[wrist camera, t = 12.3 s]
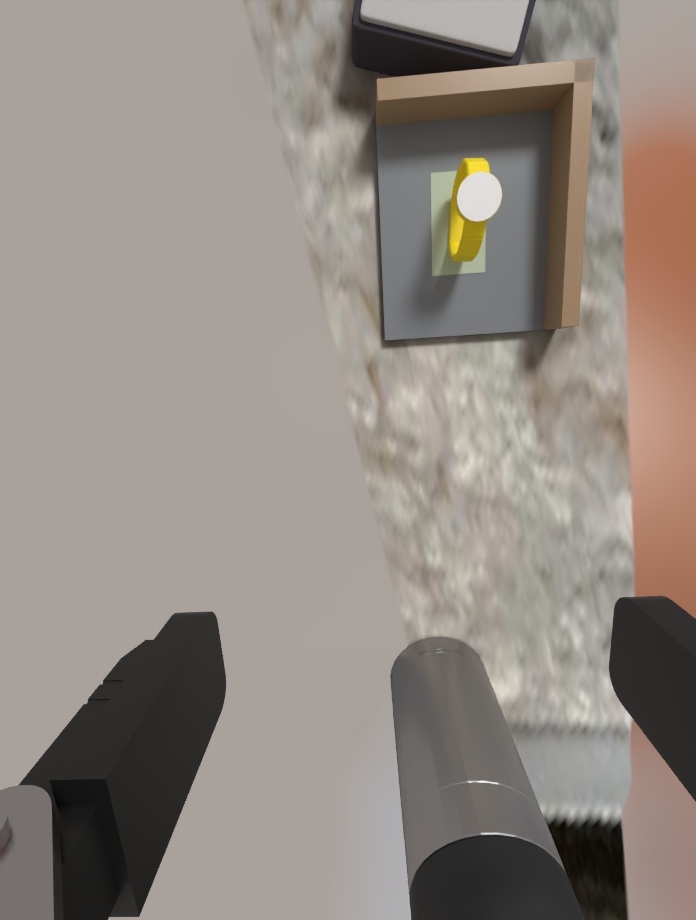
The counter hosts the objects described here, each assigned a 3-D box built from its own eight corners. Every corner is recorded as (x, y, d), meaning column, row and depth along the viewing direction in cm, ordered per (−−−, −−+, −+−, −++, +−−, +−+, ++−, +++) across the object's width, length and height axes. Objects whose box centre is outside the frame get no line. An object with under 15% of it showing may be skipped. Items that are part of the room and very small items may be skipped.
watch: (473, 266, 32) (497, 253, 27) (437, 266, 32) (453, 253, 27) (481, 175, 31) (508, 141, 25) (442, 176, 31) (460, 142, 25)
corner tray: (556, 329, 34) (578, 325, 30) (384, 340, 34) (387, 338, 31) (567, 93, 30) (594, 58, 26) (375, 111, 30) (376, 78, 27)
